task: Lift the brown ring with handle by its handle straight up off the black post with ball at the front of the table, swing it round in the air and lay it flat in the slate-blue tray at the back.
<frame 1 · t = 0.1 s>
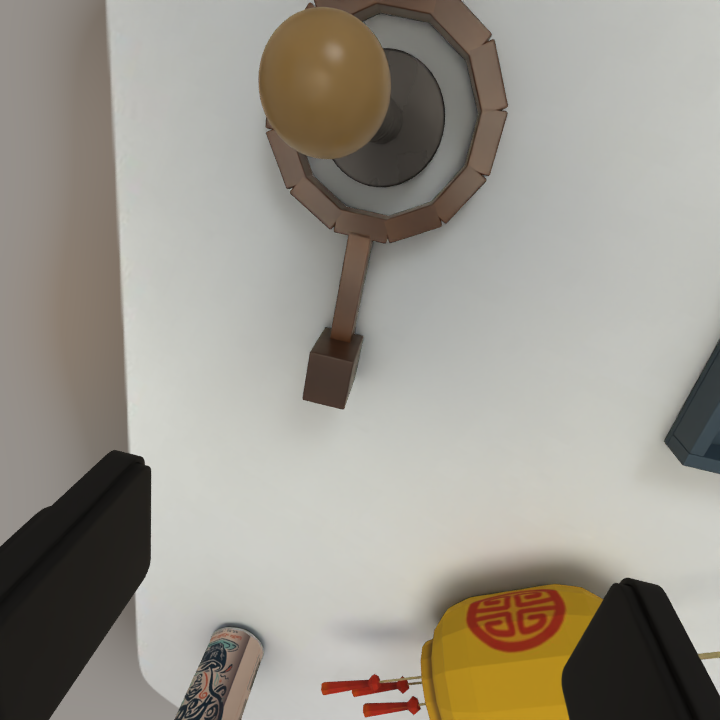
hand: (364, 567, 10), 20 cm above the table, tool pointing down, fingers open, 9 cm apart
beer can: (239, 639, 42), on the table
black post with ball: (384, 122, 24), on the table
lantern: (522, 607, 36), on the table
brown ring with handle: (385, 121, 24), on the table
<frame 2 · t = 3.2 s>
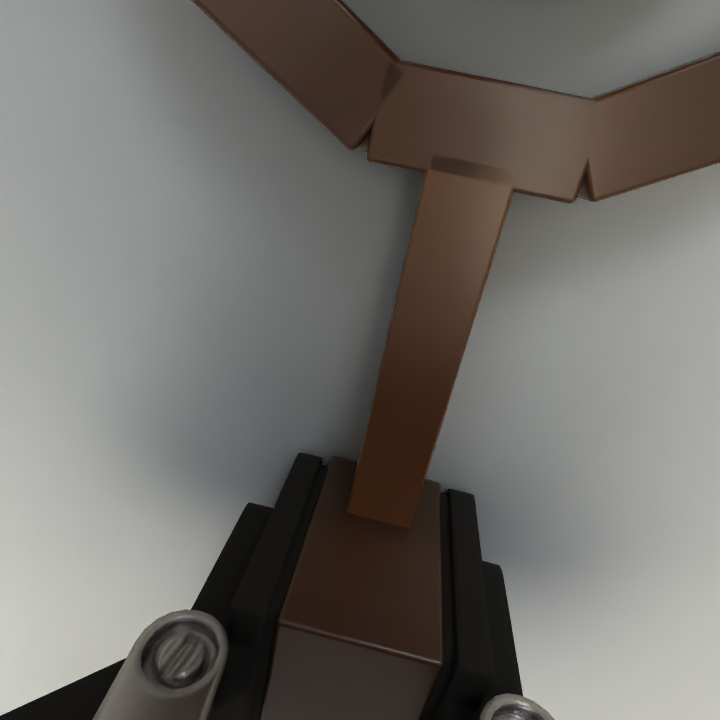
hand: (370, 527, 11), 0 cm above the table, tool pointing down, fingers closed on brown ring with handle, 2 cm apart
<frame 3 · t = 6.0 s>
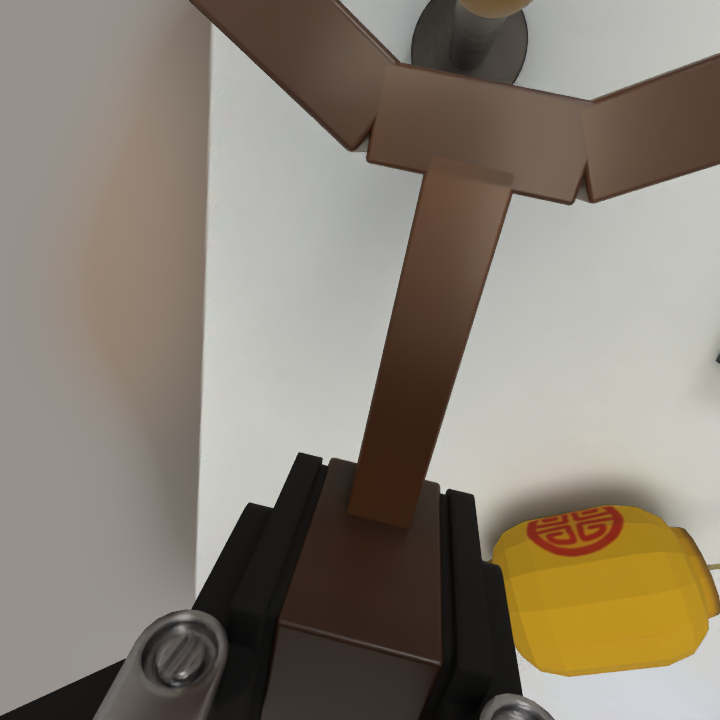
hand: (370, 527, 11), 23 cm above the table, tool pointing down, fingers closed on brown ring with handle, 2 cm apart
black post with ball: (467, 52, 26), on the table
lantern: (572, 533, 38), on the table
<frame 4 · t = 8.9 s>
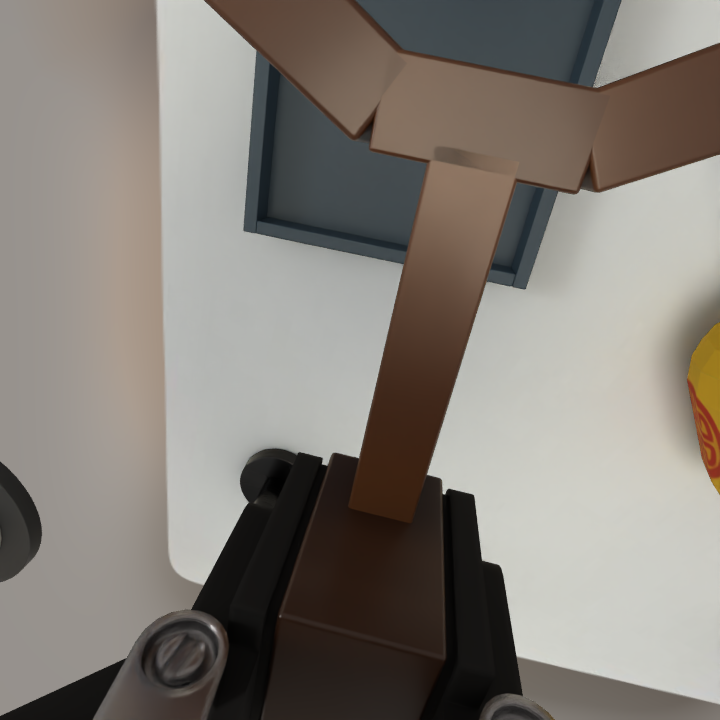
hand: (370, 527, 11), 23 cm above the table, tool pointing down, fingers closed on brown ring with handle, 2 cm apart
black post with ball: (279, 478, 40), on the table
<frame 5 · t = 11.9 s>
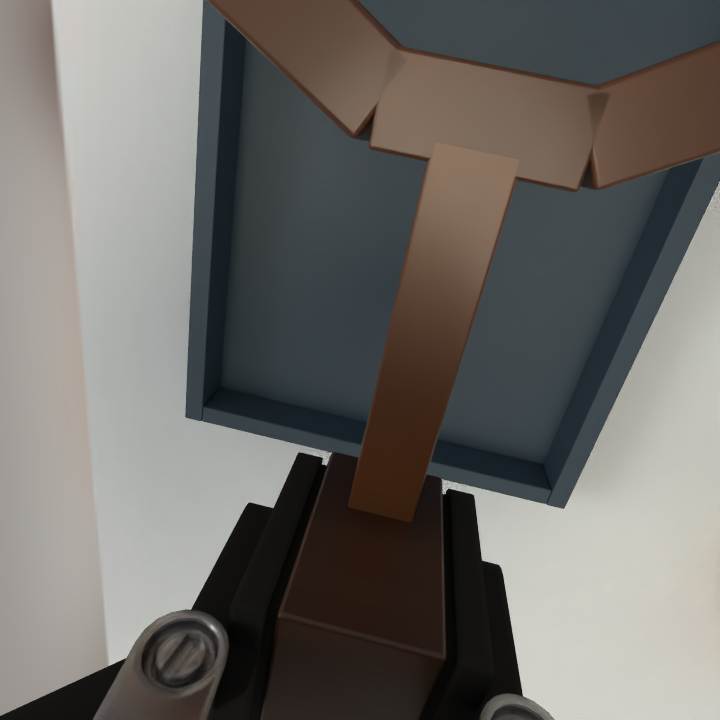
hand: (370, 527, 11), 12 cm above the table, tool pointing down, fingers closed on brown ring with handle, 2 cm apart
tray: (449, 132, 18), on the table
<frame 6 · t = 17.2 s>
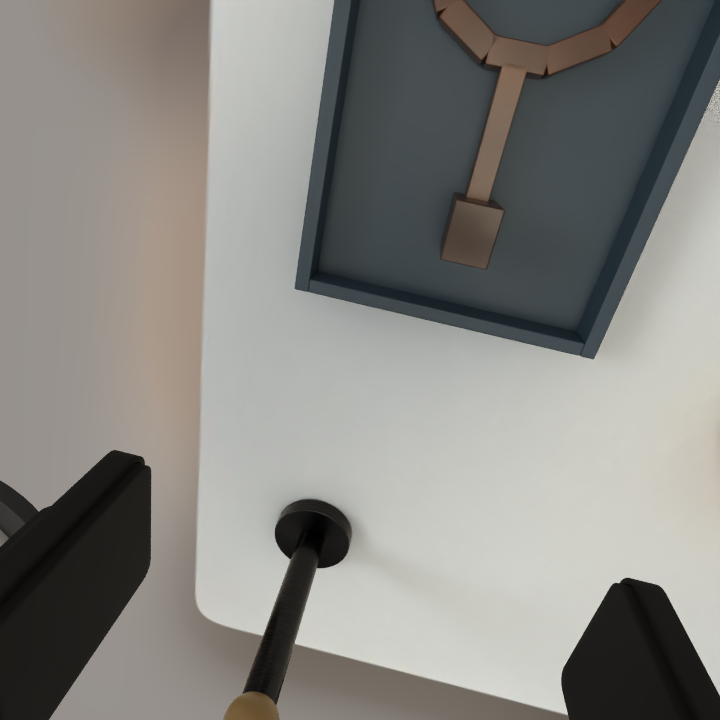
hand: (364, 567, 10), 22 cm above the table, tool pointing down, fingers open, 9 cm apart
tray: (513, 53, 24), on the table
black post with ball: (315, 529, 39), on the table
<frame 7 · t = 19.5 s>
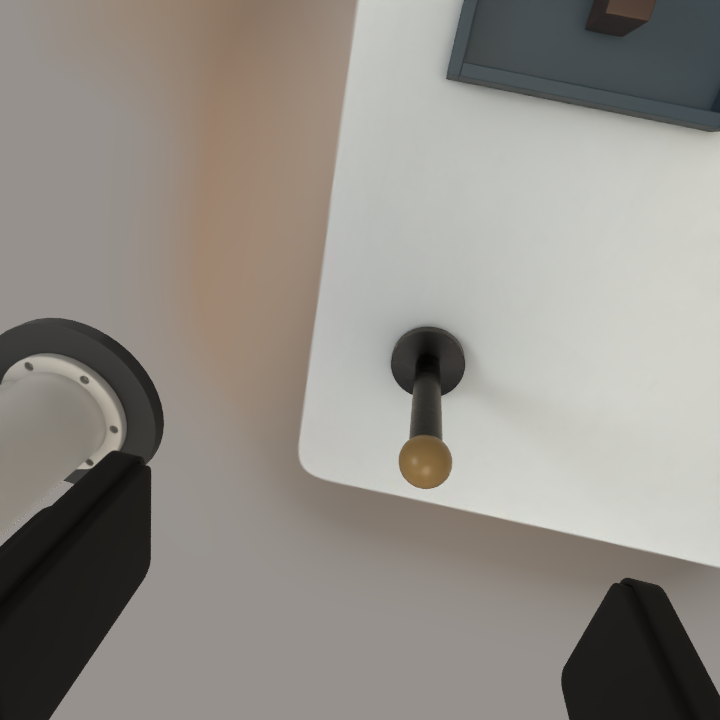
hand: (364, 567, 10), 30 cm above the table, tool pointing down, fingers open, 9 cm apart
black post with ball: (427, 360, 40), on the table
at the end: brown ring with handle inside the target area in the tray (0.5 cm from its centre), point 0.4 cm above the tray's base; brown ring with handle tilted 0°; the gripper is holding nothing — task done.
